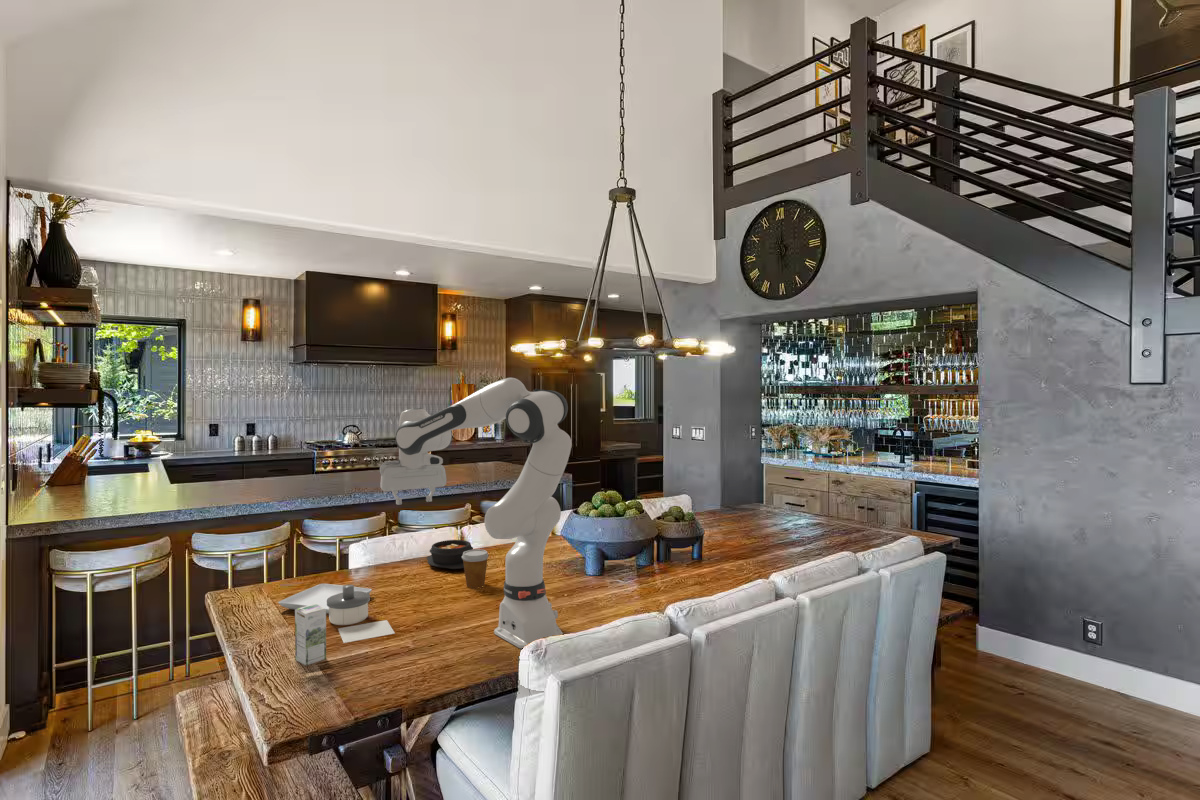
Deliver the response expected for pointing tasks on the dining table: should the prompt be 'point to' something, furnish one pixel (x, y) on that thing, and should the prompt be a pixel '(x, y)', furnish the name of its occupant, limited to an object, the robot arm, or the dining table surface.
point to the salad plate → (316, 596)
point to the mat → (365, 631)
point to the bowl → (348, 615)
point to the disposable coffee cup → (475, 567)
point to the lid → (348, 598)
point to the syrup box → (310, 634)
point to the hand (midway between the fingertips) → (414, 502)
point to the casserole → (448, 554)
